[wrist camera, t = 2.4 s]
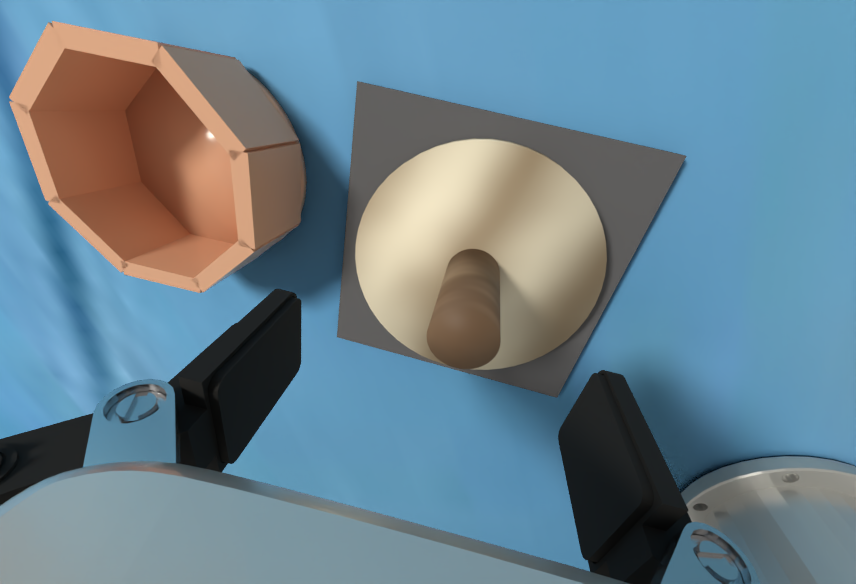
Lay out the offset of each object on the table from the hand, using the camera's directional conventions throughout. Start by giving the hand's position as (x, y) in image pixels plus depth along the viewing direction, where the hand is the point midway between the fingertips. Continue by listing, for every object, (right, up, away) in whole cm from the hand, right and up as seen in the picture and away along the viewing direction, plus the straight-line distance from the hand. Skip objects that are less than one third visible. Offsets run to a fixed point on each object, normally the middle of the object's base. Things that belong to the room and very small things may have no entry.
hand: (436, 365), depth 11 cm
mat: (+2, +4, +9) cm, 10 cm away
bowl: (-12, +10, +9) cm, 18 cm away
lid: (+2, +4, +8) cm, 9 cm away
